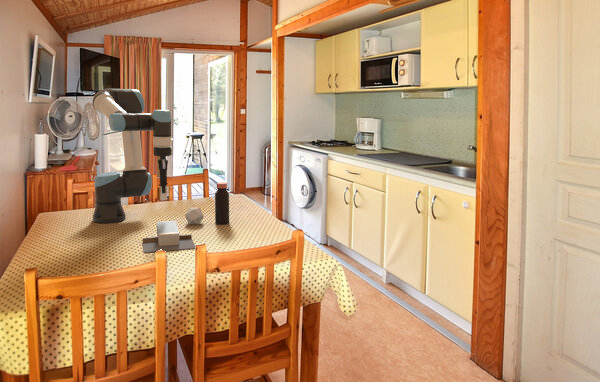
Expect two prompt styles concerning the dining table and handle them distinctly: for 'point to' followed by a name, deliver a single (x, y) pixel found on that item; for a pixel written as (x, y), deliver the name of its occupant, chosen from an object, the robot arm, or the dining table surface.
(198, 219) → the grey faceted rock
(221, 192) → the bottle
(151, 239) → the rail
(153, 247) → the mat
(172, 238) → the tall block
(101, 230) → the dining table surface
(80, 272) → the dining table surface
